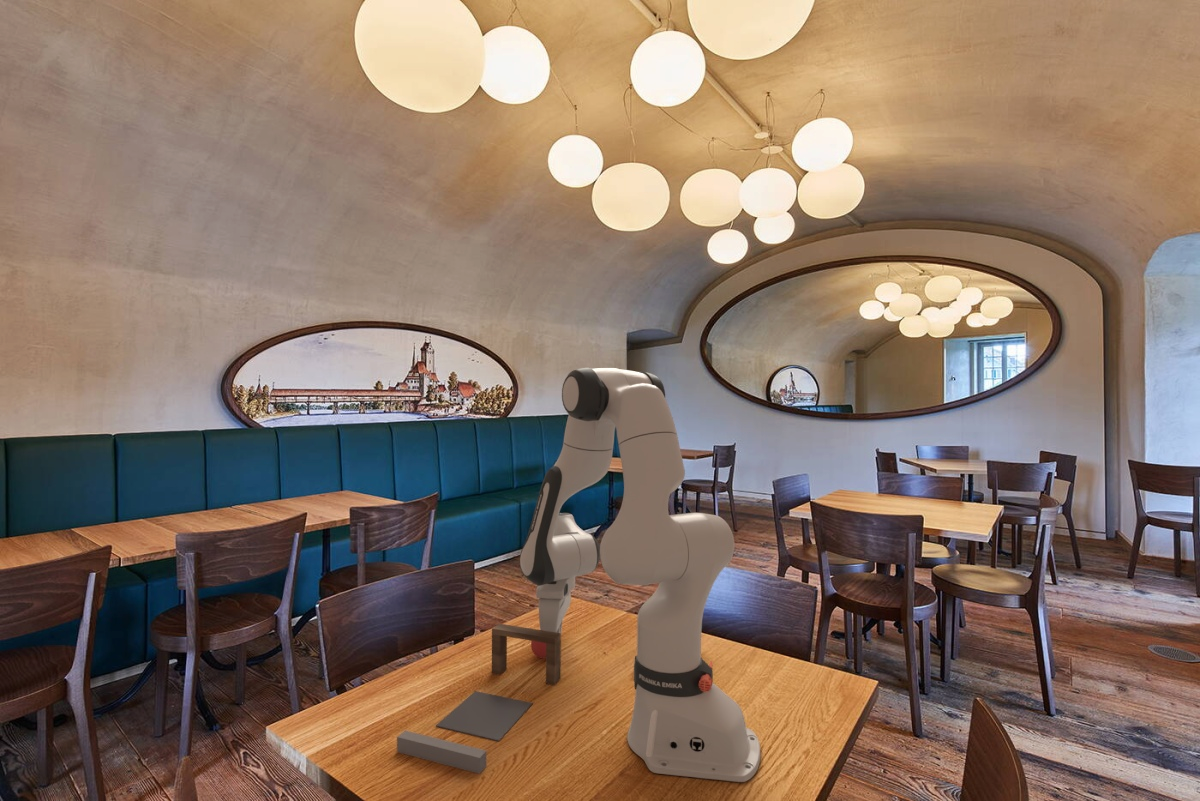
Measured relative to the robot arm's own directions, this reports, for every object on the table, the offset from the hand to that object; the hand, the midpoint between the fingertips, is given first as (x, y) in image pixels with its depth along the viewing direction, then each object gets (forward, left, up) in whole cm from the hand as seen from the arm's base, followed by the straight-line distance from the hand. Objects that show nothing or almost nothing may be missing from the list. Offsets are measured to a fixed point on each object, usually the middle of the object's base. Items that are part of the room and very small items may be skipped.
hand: (556, 637), depth 134 cm
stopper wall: (0, +45, -2) cm, 45 cm away
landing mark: (0, +31, -2) cm, 31 cm away
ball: (+1, +6, +1) cm, 6 cm away
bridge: (0, +15, -2) cm, 15 cm away
